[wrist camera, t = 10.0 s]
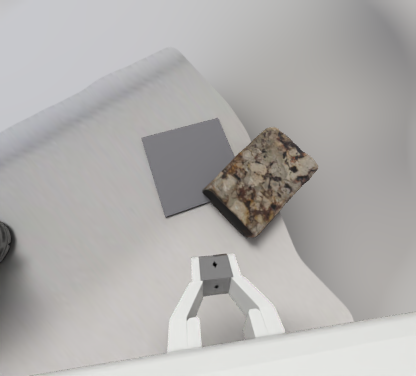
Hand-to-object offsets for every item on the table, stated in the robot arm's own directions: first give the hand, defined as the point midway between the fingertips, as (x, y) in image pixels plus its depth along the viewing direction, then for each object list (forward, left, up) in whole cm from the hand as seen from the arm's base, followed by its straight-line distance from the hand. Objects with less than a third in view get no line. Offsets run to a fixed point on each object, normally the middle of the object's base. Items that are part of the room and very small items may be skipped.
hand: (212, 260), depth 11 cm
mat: (+15, -4, -21) cm, 27 cm away
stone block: (+3, -6, -18) cm, 19 cm away
